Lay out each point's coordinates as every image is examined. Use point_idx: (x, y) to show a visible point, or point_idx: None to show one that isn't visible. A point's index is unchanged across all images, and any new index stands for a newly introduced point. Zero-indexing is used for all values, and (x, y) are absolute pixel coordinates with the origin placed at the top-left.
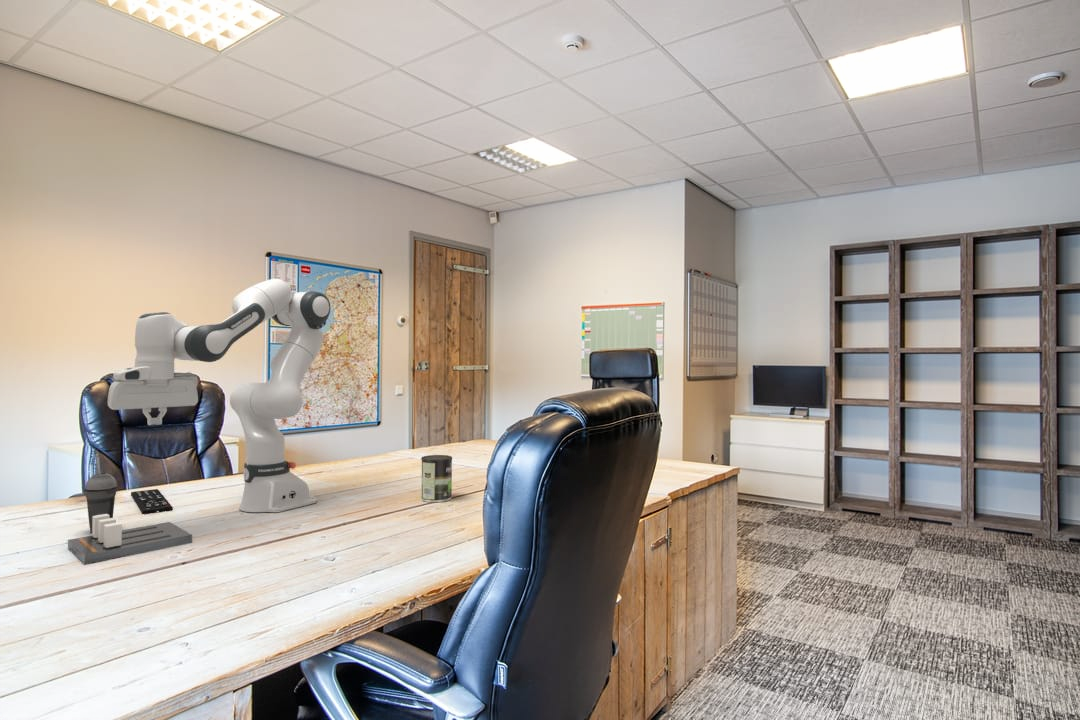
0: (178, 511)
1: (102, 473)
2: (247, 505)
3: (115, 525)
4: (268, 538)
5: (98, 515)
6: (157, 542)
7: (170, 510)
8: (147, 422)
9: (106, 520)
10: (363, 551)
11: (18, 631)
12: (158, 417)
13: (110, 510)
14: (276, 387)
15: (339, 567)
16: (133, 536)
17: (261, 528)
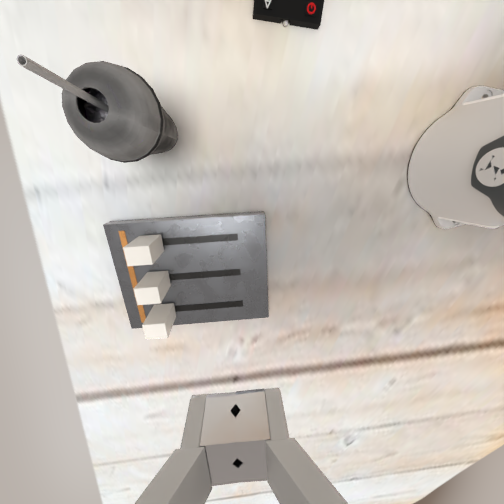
0: (323, 53)
1: (96, 88)
2: (420, 184)
3: (158, 338)
4: (345, 351)
5: (133, 250)
6: (221, 319)
7: (313, 27)
8: (188, 408)
9: (146, 299)
10: (383, 440)
11: (95, 451)
12: (268, 467)
13: (162, 148)
14: None
15: (339, 460)
16: (196, 276)
17: (365, 303)
